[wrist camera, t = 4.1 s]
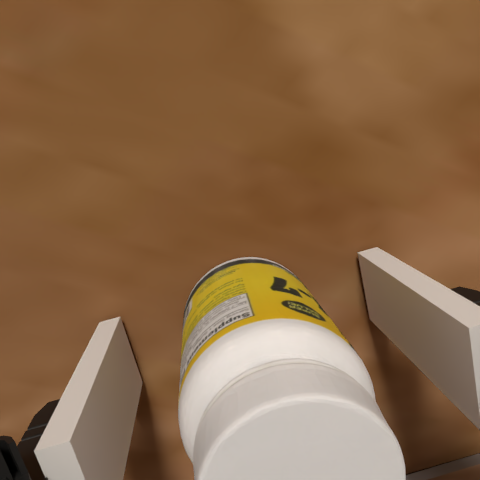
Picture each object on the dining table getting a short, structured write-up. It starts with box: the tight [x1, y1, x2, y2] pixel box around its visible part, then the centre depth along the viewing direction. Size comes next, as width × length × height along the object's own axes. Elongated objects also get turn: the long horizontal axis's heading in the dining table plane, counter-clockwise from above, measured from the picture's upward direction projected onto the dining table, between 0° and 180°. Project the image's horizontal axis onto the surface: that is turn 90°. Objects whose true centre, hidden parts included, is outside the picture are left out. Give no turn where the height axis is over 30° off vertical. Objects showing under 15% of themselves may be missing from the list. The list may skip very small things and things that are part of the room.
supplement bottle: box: [178, 257, 406, 480], centre depth 12 cm, size 5×5×8 cm
